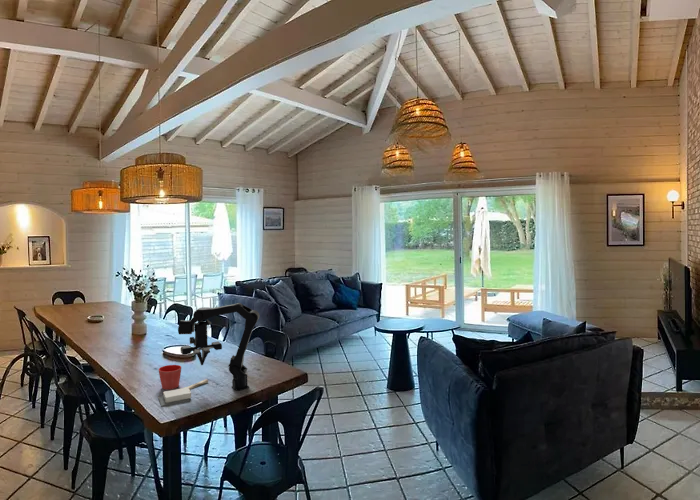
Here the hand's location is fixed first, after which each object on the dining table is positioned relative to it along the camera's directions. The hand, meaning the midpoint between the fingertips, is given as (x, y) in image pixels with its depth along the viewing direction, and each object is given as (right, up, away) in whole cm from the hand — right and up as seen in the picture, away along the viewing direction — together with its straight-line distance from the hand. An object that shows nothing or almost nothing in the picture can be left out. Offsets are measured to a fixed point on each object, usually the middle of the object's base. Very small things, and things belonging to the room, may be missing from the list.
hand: (201, 365), depth 218 cm
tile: (-3, -11, -9) cm, 14 cm away
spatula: (-6, -12, +2) cm, 13 cm away
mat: (-9, -13, -12) cm, 20 cm away
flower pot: (-17, -12, +4) cm, 21 cm away
